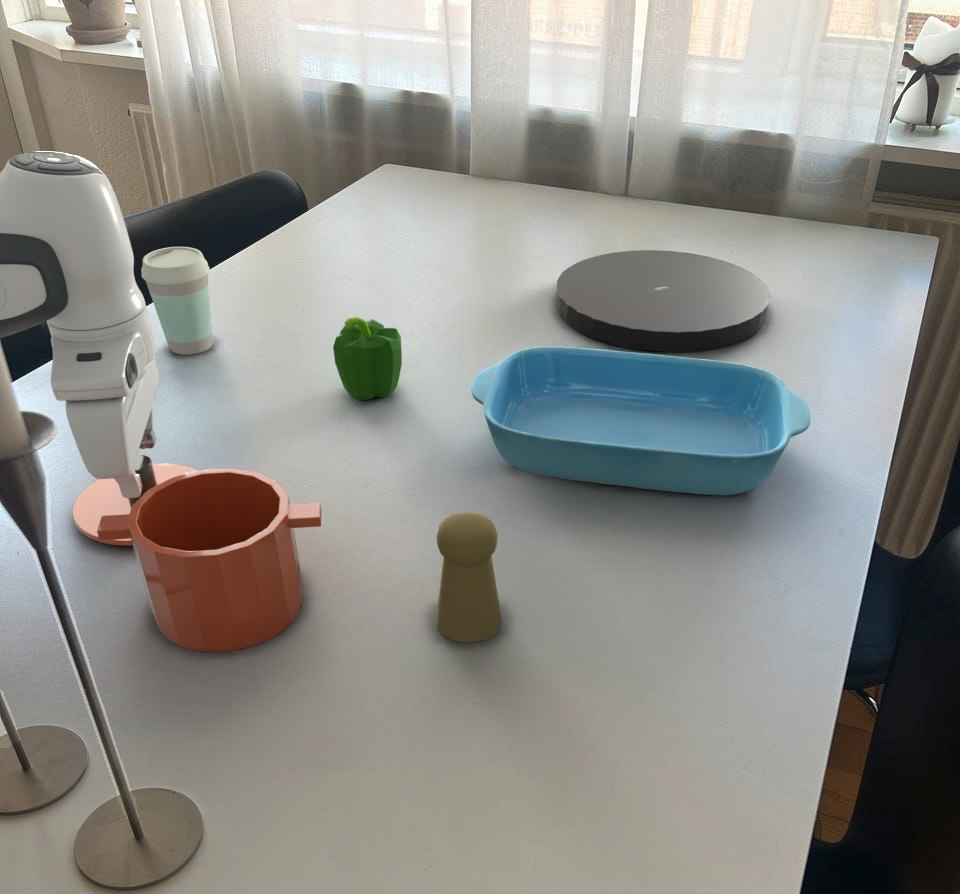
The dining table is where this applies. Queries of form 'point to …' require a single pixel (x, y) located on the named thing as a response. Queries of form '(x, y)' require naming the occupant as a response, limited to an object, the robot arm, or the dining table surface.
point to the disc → (662, 300)
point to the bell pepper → (368, 358)
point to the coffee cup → (180, 297)
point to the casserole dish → (639, 418)
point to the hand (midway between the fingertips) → (140, 468)
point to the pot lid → (119, 496)
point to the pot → (217, 556)
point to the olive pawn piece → (467, 578)
